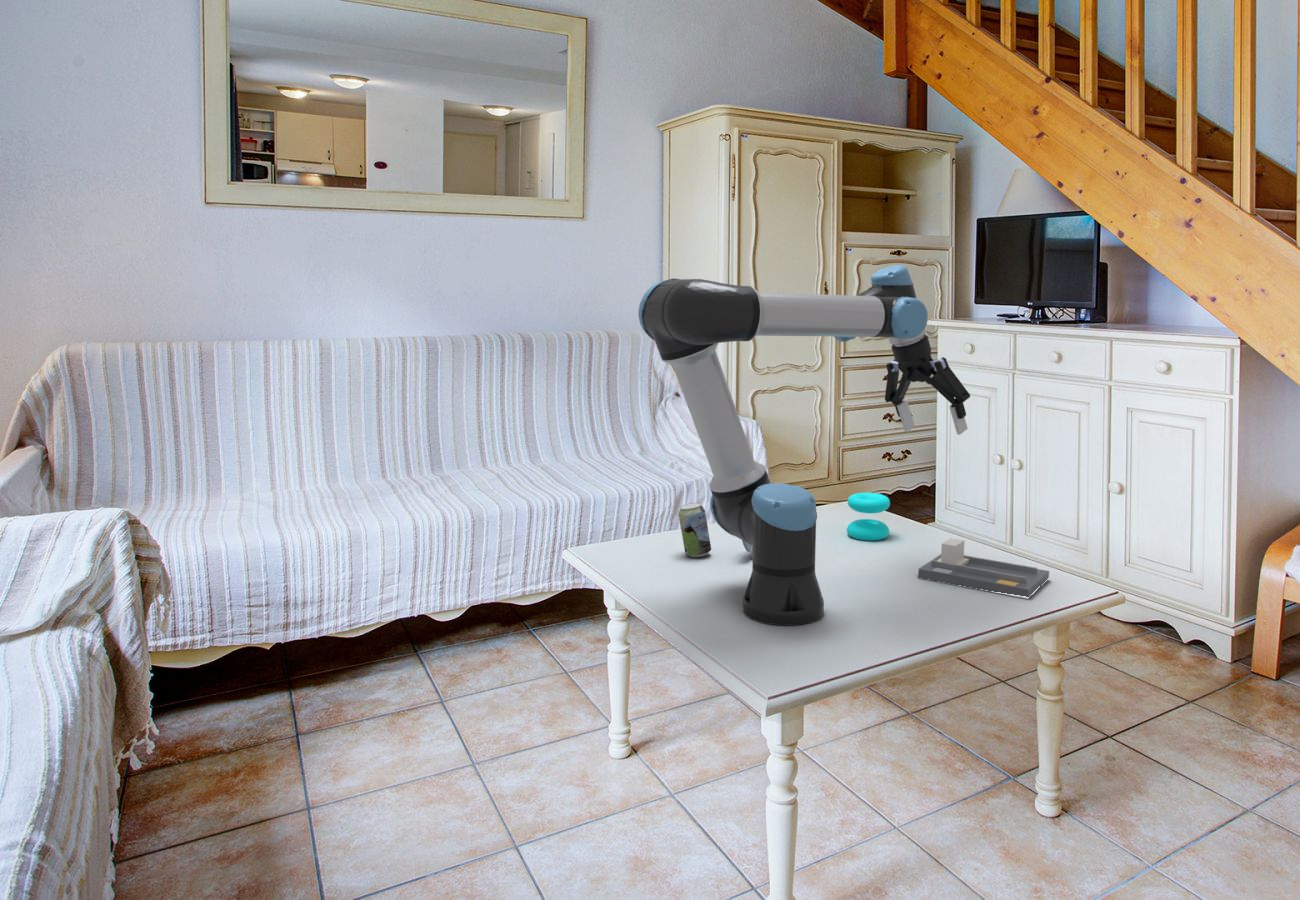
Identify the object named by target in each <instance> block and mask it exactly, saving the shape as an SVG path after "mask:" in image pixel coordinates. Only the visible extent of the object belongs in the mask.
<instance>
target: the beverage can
mask: <svg viewBox="0 0 1300 900" xmlns="http://www.w3.org/2000/svg"><path fill="white" fill-rule="evenodd" d="M678 519H679V520H678V521H679V524H680V530H681V537H682V541H683V543H682V544H683V547H684V553H685V555H687V556H689V557H690V556H691V558H700V557H704V556H707V555H708V554H709V553H710V552H711V551H712V545H711V540H710V533H709V527H708V520H707V515H706V509H705V507H704V506H702V503H700V502H693V503H687V504H683V505H681V506H680V507H679V511H678Z"/></svg>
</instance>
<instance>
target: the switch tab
mask: <svg viewBox="0 0 1300 900" xmlns="http://www.w3.org/2000/svg"><path fill="white" fill-rule="evenodd" d="M940 549H941V553H940V554H941V558H940V559H939V560H937V561H940V562H945V563H951V564H956V565H962V566H965V565H966V564H968V563H969V559H966V558H964V555H965V540H962V539H957V538H952V537H950V538H949V539H946V540H945V541H943V542H942V543H941V548H940Z"/></svg>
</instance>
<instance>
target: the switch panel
mask: <svg viewBox="0 0 1300 900" xmlns="http://www.w3.org/2000/svg"><path fill="white" fill-rule="evenodd" d="M940 558H941V553H940V554H939V555H938V556H936V557H934V558H933V559H932V560H930V561H929V562H926V563H925V564H923V565H922V566H921V567H919V568H918V573H917V578H918V579H920V578H923V579H922V580H925V579H930V580H934V581H933V582H936V581H940V582H939V583H941V582H945V583H944V584H946V583H950V584H949V585H951V584H955V585H954V586H956V585H961V586H966V587H972V588H977V589H983V590H988V591H994V592H1001V593H1007V594H1014V595H1020V596H1026V597H1029V596H1030V595H1031V594H1032V593H1033V592H1034V591H1035V590H1036V589H1037V588H1038V587H1039V586H1041V585H1042V584H1043V583H1044V582H1045V581H1046V580H1047V579H1048V578H1049V577H1050V570H1046V569H1039V568H1038V567H1033V566H1028V565H1024V564H1016V563H1011V562H1007V561H999V560H996V559H995V560H994V559H987V558H983V557H976V556H972V555H971V556H970V555H965V554H964V558H966V559H969V563H968V564H966V565H965V566H962V565H956V564H951V563H945V562H940V561H937V560H939V559H940ZM930 580H929V581H930ZM961 586H960V587H961ZM966 587H965V588H966ZM977 589H976V590H977Z"/></svg>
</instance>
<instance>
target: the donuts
mask: <svg viewBox="0 0 1300 900" xmlns="http://www.w3.org/2000/svg"><path fill="white" fill-rule="evenodd" d="M847 505H848V507H849V508H850V509H851V510H853V511H855V512H858V513H862V514H879V513H882V512H886V511H887V510H888V509H889V507H890V506H891V501H890V498H889V497H888V496H886V495H884V494H881V493H877V492H857V493H854V494H851V495H850V496H848V498H847ZM846 532H847V534H848V536H850V538H851V537H852V538H853V539H856V540H859V541H867V542H869V541H870V542H871V541H873V542H875V541H879V540H880V541H882V540H883V539H885V538H887V537H888V536H889V534H890V529H889V526H888V525H887V524H886V523H884V522H883V521H880V520H876V519H872V518H871V519H870V518H869V519H868V518H861V519H855V520H853V521H851V522H850V523H848V525H847V527H846Z"/></svg>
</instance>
